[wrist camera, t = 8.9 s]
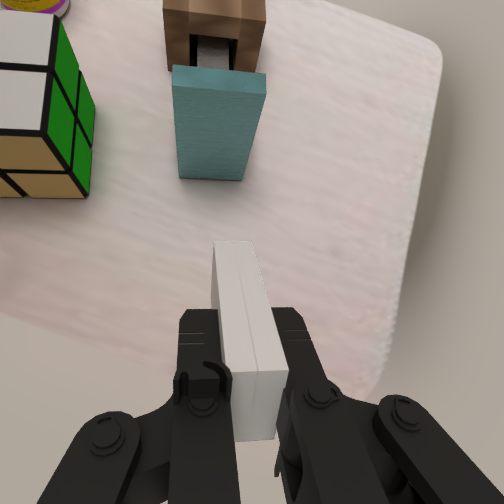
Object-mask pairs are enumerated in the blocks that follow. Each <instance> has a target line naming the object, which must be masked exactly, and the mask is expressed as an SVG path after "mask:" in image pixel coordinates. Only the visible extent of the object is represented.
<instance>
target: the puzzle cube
mask: <svg viewBox="0 0 504 504" xmlns="http://www.w3.org/2000/svg"><path fill="white" fill-rule="evenodd" d="M94 113H95V105H94V102H93V100H92V97H91V95H90V92H89V90H88V87H87V85H86V82H85V79H84V77H83V74H82V72H81V71H80V70H79V64H78V62H77V59H76V57H75V54H74V52H73V49H72V47H71V44H70V42H69V39H68V37H67V34H66V32H65V29H64V27H63V24H62V22H61V19H60V18H59V17H58V16H57V15H54V14H45V13H34V12H24V11H14V10H3V9H0V197H24V196H25V195H27V194H28V195H29V196H30V197H31V198H85V197H87V196H88V195H89V184H90V170H91V156H92V151H91V149H90V147H91V146H92V140H93V127H94Z"/></svg>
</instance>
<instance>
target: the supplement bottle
mask: <svg viewBox="0 0 504 504" xmlns="http://www.w3.org/2000/svg"><path fill="white" fill-rule="evenodd" d="M0 5H1V6H2V8H3V9H4V10H14V11H24V12H34V13H45V14H54V15H57V16H58V17H61V16H62V15H63V14H64V13H65V11H66V10H67V8H68V5H69V0H0Z"/></svg>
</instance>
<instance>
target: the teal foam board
mask: <svg viewBox="0 0 504 504" xmlns="http://www.w3.org/2000/svg"><path fill="white" fill-rule="evenodd" d="M172 95H173V108H174V121H175V133H176V146H177V159H178V172H179V177H185V178H204V179H223V180H242V179H243V175H244V172H245V168H246V164H247V161H248V157H249V154H250V150H251V147H252V143H253V140H254V136H255V133H256V129H257V126H258V122H259V119H260V115H261V112H262V108H263V105H264V101H265V98H266V74H261V73H252V72H242V71H232V70H229V38H223V37H215V36H206V35H198V52H197V67H193V66H183V65H173V68H172Z"/></svg>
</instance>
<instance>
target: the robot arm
mask: <svg viewBox="0 0 504 504" xmlns="http://www.w3.org/2000/svg"><path fill="white" fill-rule="evenodd" d="M211 307H212V309H187V310H186V311H185V313H184V314H183V316H182V317H181V319H180V321H179V338H178V355H177V371H176V373H175V376H174V379H173V394H172V396H171V398H170V399H169V400H168V401H167V402H166V404H164V405H163V406H161V407H160V408H159V409H157V410H155V411H152V412H150V413H148V414H145V415H142V416H139V417H137V418H133V417H132V416H131V415H129V414H126V413H124V412H121V411H116V412H115V411H114V412H106V413H103V414H100V415H97V416H95V417H94V418H92V419H91V420H89V421H88V422H86V423H85V424H84V425H83V427H82V428H81V429H80V430H79V432H78V433H77V434H76V436H75V437H74V439H73V441H72V443H71V444H70V446H69V448H68V449H67V451H66V453H65V455H64V456H63V458H62V460H61V462H60V464H59V465H58V467H57V469H56V470H55V472H54V474H53V476H52V477H51V479H50V481H49V483H48V485H47V486H46V488H45V490H44V491H43V493H42V495H41V497H40V498H39V500H38V502H37V504H160V503H163V502H165V501H166V500H168V504H241V501H240V492H239V482H238V472H237V462H236V453H235V442H242V441H243V442H244V441H258V440H271V439H274V437H275V433H276V428H277V432H278V436H279V441H280V447H279V451H278V455H277V459H276V464H275V469H274V473H275V474H274V475H275V477H278V476H279V472H281V476H282V482H283V487H284V492H285V497H286V502H287V504H504V496H503V495H502V494H501V492H500V491H499V490H498V489H497V488H496V487H495V486H494V485H493V484H492V483H491V481H490V480H489V479H488V478H487V477H486V476H485V475H484V474H483V473H482V471H481V470H480V469H479V468H478V467H477V466H476V465H475V464H474V462H473V461H471V459H470V458H469V457H468V456H467V455H466V454H465V453H464V451H463V450H462V449H461V448H460V447H459V446H458V445H457V444H456V443H455V441H454V440H453V439H452V438H451V437H450V436H449V435H448V434H447V432H446V431H445V430H444V429H443V428H442V427H441V426H440V425H439V424H438V422H437V421H436V420H435V419H434V418H433V417H432V416H431V415H430V414H429V413H428V411H427V410H426V409H424V408H423V407H422V406H421V405H420V404H419V403H418V402H416V401H414V400H412V399H410V398H408V397H405V396H401V395H387V396H386V397H384V398H383V399H381V401H380V403H379V405H375V404H371V403H367V402H363V401H359V400H355V399H352V398H349V397H347V396H345V395H343V394H342V392H341V391H340V389H339V388H338V387H337V386H336V385H335V384H334V383H332V382H331V381H330V380H328V379H327V377H326V375H325V373H324V370H323V368H322V365H321V363H320V360H319V358H318V355H317V353H316V350H315V348H314V345H313V343H312V341H311V338H310V335H309V333H308V331H307V328H306V325H305V323H304V320H303V317H302V316H301V315H300V314H299V313H298V312H297V311H296V310H295V309H294V308H293V307H276V308H271V307H270V303H269V300H268V296H267V293H266V289H265V286H264V283H263V279H262V276H261V272H260V269H259V265H258V262H257V258H256V255H255V252H254V248H253V245H252V241H227V240H214V246H213V265H212V284H211Z"/></svg>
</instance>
